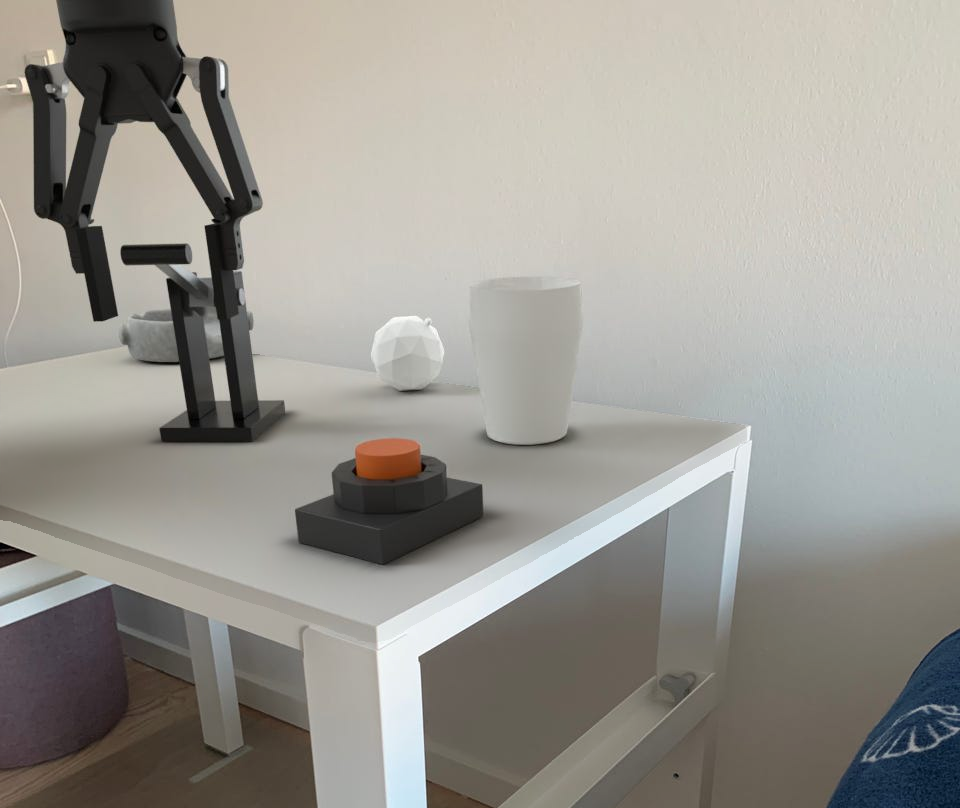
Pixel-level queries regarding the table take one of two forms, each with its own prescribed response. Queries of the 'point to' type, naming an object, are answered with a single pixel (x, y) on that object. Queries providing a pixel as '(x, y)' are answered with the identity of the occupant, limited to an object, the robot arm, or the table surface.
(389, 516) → the block
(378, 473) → the button
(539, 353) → the cup
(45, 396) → the table surface
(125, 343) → the dish
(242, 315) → the switch bracket
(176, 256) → the switch
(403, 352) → the ornament
